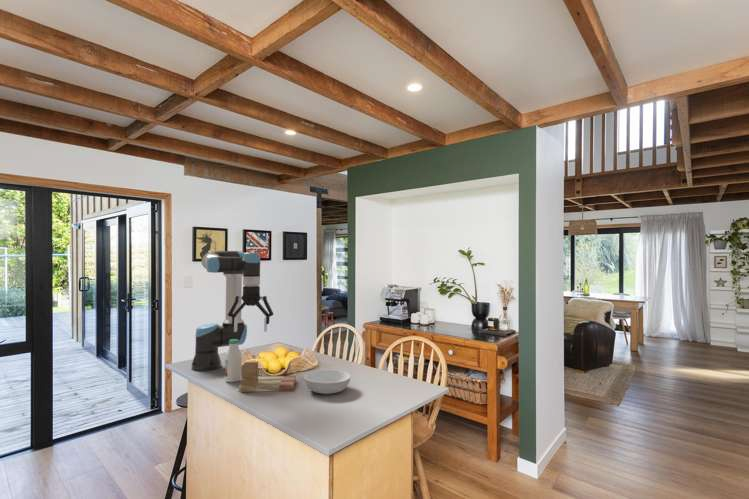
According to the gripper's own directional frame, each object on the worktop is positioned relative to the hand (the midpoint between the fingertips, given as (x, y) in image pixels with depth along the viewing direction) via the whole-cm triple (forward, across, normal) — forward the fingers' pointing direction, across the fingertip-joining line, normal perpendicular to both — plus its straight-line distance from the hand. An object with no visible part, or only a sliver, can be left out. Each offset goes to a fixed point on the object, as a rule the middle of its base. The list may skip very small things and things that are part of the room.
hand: (250, 331), depth 180 cm
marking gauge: (+26, 0, -1) cm, 26 cm away
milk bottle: (+27, -11, +13) cm, 32 cm away
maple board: (+26, +8, +3) cm, 28 cm away
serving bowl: (+27, +36, -5) cm, 45 cm away
